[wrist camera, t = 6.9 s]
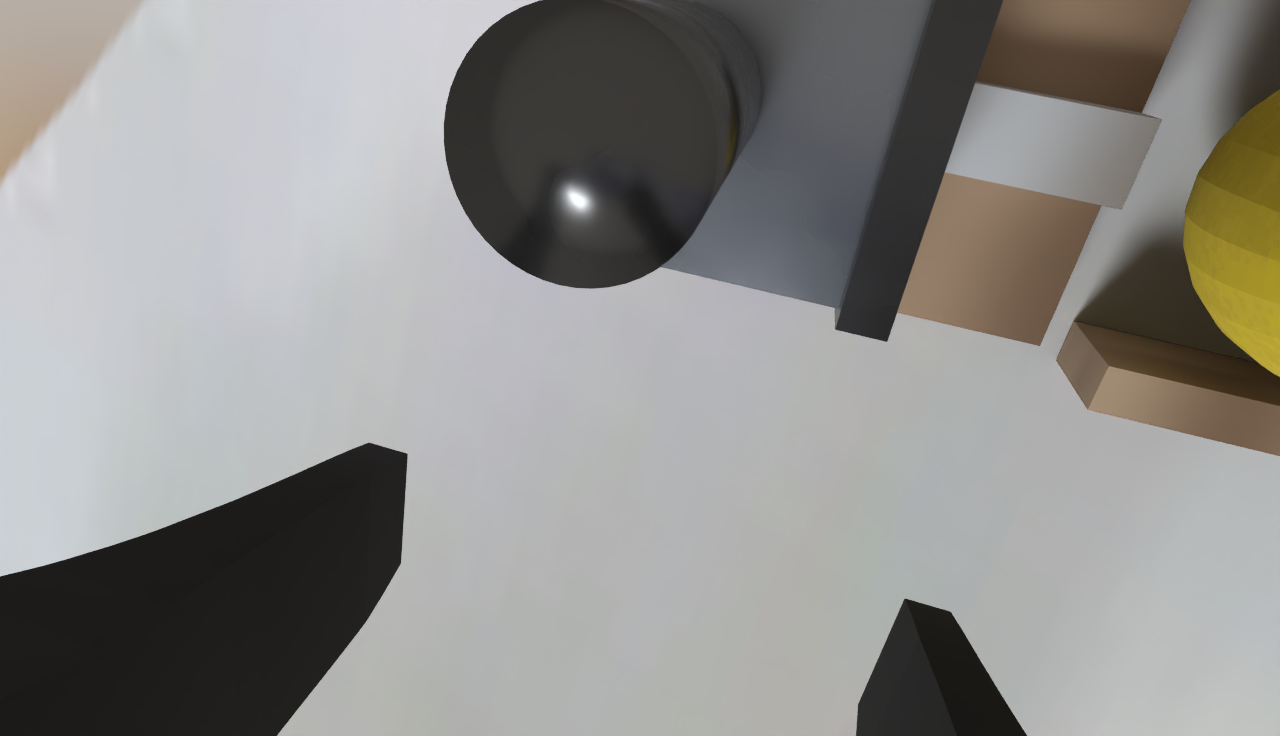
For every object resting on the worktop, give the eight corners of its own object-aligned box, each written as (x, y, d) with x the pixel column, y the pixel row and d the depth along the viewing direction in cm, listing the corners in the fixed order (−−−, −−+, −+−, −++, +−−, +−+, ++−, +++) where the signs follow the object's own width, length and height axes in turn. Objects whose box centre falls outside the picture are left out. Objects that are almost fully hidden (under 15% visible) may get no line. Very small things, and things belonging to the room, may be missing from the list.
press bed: (1190, -76, 15) (1255, -91, 12) (1024, 321, 18) (1051, 364, 16) (663, -166, 16) (635, -193, 13) (603, 223, 19) (574, 251, 17)
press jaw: (976, -51, 13) (1172, -128, 6) (874, 268, 15) (916, 513, 8) (624, -113, 14) (381, -256, 6) (581, 201, 16) (369, 368, 9)
